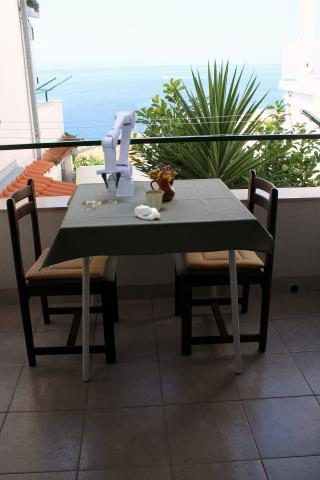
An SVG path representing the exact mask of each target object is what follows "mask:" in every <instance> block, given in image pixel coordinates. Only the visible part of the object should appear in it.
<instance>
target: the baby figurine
mask: <svg viewBox="0 0 320 480" xmlns="http://www.w3.org/2000/svg"><path fill="white" fill-rule="evenodd" d="M133 213H134V215H135V217H138V218H140V219H142V220H145V219H146V221H147V220H148V219H149V220H148V221H152V220H154V219H156V218H157V219H160V218H161V214H160V213H159V211H158V210H157V209H155V208H150V207H149V206H148V205H143V204H140V205H138V206H136V207H134V211H133Z"/></svg>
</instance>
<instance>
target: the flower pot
mask: <svg viewBox="0 0 320 480" xmlns="http://www.w3.org/2000/svg"><path fill="white" fill-rule="evenodd" d="M144 194H145V195H144V196H145V198H146V203H147V205H146V206H149V207H150V208H155V209H157V210H158V212H159V211H161V209H162V202H163V196H164V194H165V191H163V190H160V189H149V190H145V191H144Z"/></svg>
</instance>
